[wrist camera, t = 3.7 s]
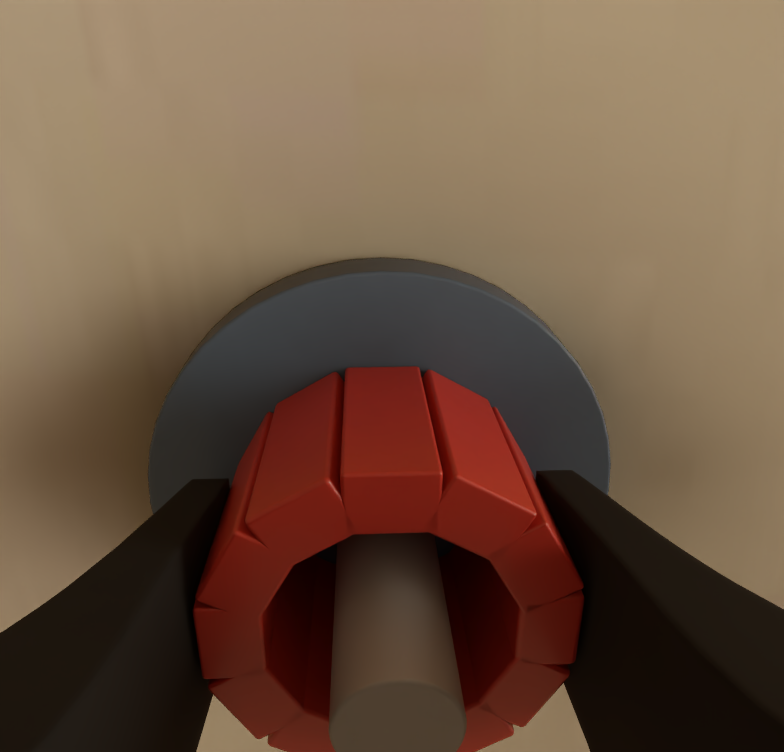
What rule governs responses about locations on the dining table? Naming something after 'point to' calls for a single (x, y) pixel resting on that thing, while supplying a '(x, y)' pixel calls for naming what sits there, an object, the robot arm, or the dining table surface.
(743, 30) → the dining table surface
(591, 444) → the ring stand
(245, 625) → the ring
